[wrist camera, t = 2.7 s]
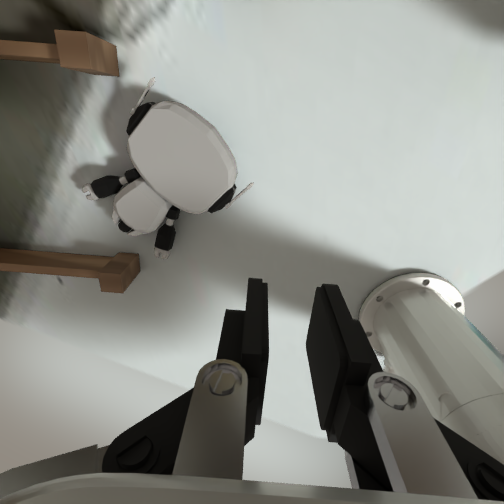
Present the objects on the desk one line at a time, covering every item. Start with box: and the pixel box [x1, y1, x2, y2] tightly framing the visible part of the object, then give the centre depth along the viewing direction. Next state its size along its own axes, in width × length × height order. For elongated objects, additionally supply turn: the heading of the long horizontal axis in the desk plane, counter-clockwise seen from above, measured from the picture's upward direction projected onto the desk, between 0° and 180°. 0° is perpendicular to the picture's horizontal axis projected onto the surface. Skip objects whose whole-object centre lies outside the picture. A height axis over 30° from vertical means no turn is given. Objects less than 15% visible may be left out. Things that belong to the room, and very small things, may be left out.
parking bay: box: [0, 30, 140, 293], centre depth 29 cm, size 23×19×5 cm
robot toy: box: [82, 77, 253, 259], centre depth 30 cm, size 12×4×15 cm
